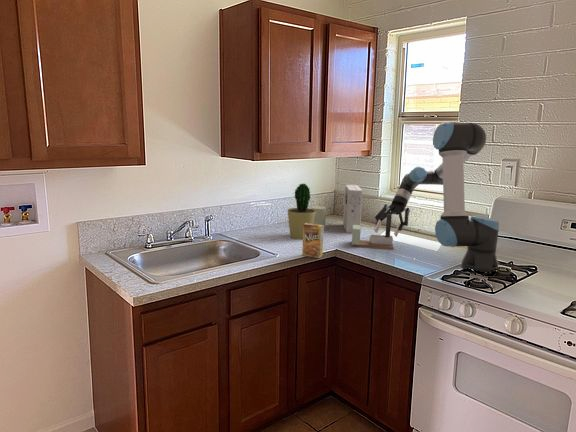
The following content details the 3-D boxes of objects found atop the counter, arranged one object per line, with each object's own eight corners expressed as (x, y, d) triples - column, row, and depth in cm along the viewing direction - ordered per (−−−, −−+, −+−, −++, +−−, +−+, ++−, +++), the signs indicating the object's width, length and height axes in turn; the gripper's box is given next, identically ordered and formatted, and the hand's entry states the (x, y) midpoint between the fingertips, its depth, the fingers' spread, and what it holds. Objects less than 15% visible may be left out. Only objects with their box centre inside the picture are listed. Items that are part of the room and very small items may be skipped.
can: (328, 225, 277) (329, 206, 275) (321, 228, 270) (322, 208, 267) (314, 223, 282) (315, 204, 280) (307, 226, 275) (308, 206, 272)
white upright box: (359, 233, 261) (362, 190, 255) (346, 233, 261) (349, 189, 256) (355, 225, 282) (357, 185, 277) (342, 224, 282) (345, 184, 277)
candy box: (301, 255, 213) (303, 224, 210) (305, 253, 217) (306, 222, 214) (319, 258, 210) (321, 226, 207) (322, 256, 214) (324, 224, 211)
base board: (393, 249, 229) (393, 247, 229) (351, 246, 232) (351, 244, 232) (392, 244, 239) (392, 242, 239) (351, 241, 242) (352, 239, 242)
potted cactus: (298, 231, 260) (300, 179, 253) (320, 236, 250) (322, 182, 244) (280, 236, 248) (282, 182, 242) (303, 241, 238) (305, 185, 232)
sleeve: (392, 245, 232) (392, 238, 231) (370, 244, 233) (370, 236, 233) (391, 243, 236) (392, 235, 235) (370, 241, 238) (370, 234, 237)
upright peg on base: (391, 243, 233) (393, 214, 230) (369, 242, 234) (371, 213, 231) (390, 242, 235) (393, 213, 232) (369, 241, 237) (371, 212, 234)
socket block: (359, 244, 231) (360, 229, 230) (351, 244, 232) (352, 229, 230) (359, 239, 241) (360, 225, 240) (352, 239, 242) (352, 224, 240)
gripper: (423, 206, 235) (408, 241, 226) (383, 200, 249) (367, 233, 240) (420, 197, 230) (404, 232, 221) (379, 192, 244) (363, 225, 235)
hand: (385, 233), depth 231 cm, fingers open, 10 cm apart
